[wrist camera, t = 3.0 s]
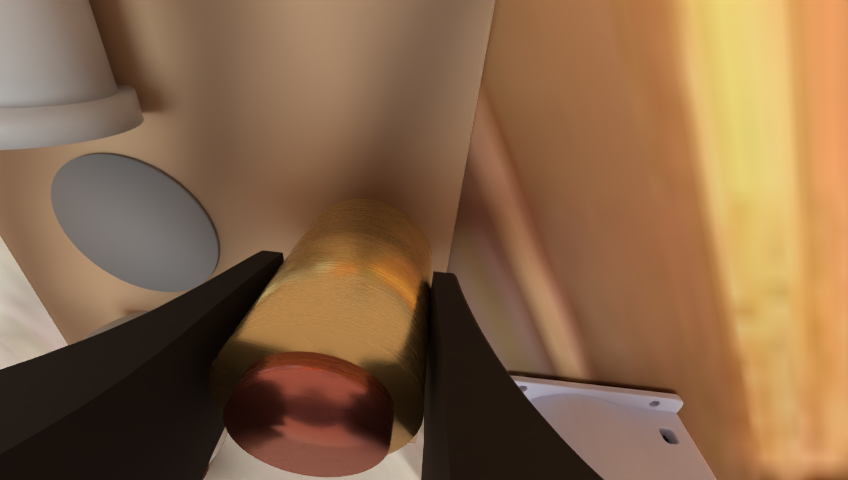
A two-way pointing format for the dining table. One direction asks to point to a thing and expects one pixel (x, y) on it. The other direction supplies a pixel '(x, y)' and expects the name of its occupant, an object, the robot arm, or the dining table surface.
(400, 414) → the tan red-topped cylinder
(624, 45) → the dining table surface
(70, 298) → the board
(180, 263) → the flange seat
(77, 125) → the pipe stubs
